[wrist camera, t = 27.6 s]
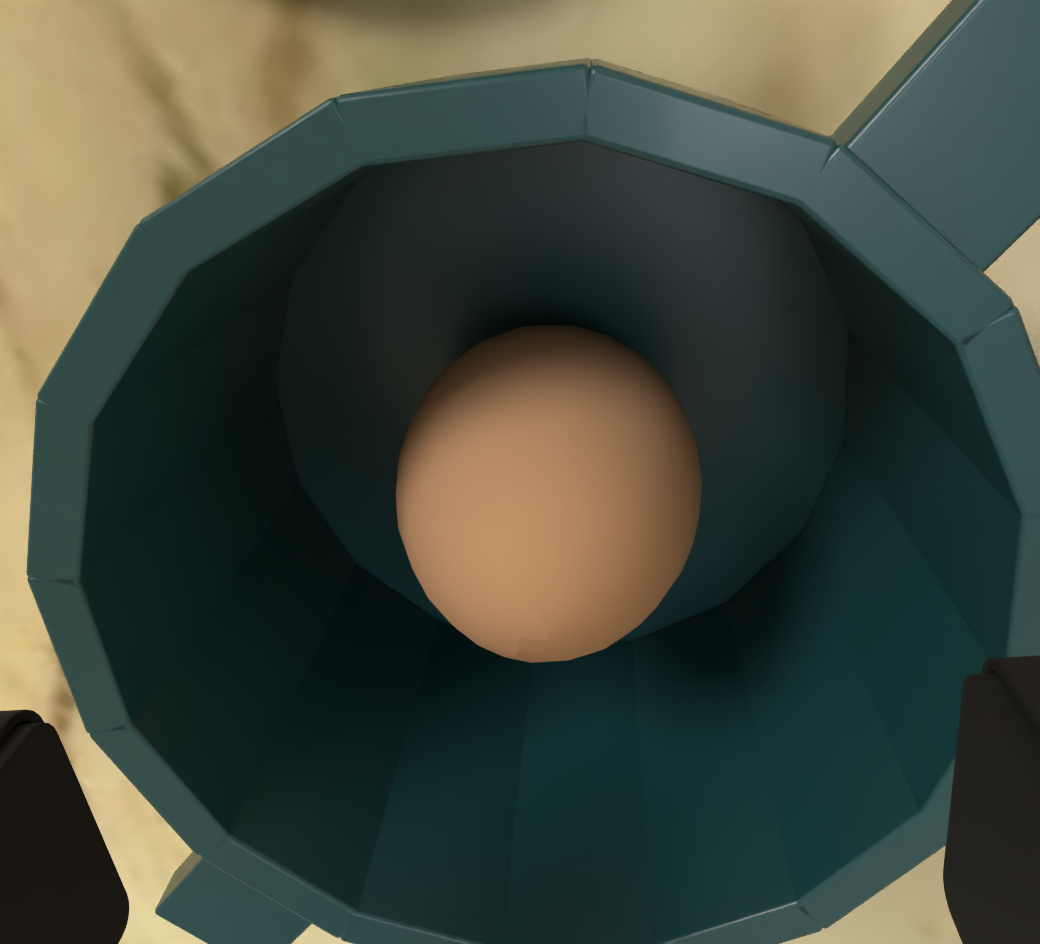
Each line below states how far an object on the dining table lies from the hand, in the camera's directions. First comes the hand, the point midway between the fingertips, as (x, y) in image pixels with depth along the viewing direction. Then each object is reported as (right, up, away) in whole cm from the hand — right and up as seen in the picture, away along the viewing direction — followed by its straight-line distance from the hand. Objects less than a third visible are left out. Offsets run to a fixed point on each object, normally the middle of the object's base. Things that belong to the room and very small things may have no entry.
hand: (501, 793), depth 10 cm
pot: (+1, +5, +12) cm, 13 cm away
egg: (+1, +5, +12) cm, 13 cm away
